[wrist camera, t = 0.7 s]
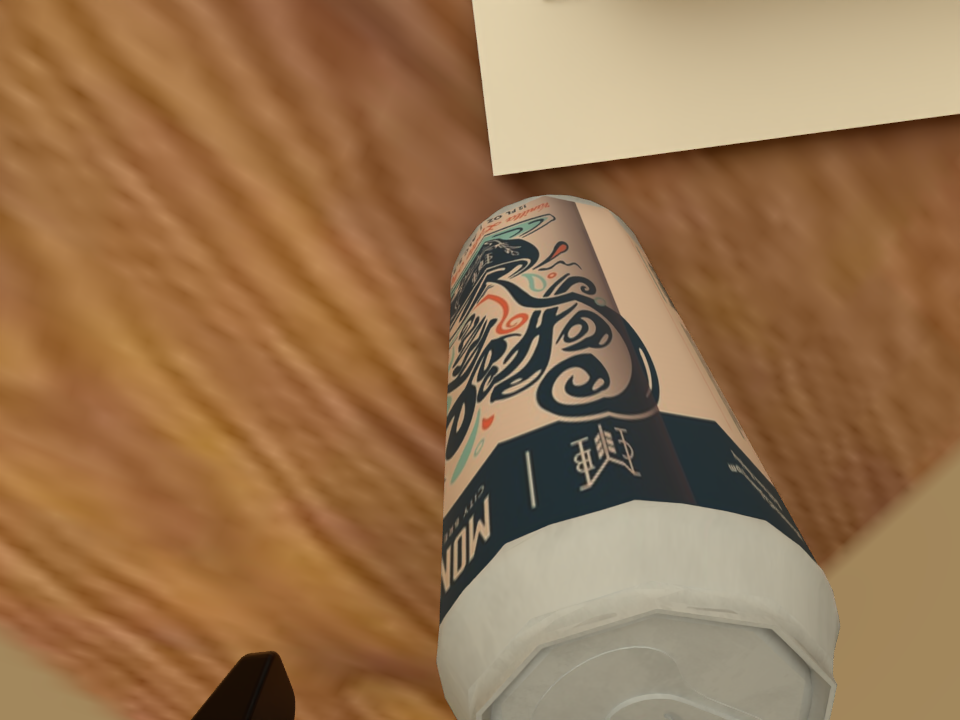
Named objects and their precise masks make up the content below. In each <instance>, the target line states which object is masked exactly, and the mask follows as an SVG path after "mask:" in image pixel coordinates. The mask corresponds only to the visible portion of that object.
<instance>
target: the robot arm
mask: <svg viewBox="0 0 960 720" xmlns="http://www.w3.org/2000/svg"><path fill="white" fill-rule="evenodd" d="M294 717H295V696H294V692H293V689H292V686H291V683H290V681H289V678H288V676H287V673H286V671H285V668H284V665H283V663H282V660H281V658H280V656H279V655H278V654H277V653H276V652H274V651H268V652H258V653H250V654H247V655H245V656H243V657H242V658H241V659H240V660H239V661H238V662H237V664H236V665H235V666H234V667H233V668H232V670H231V671H230V672H229V673H228V675H227V676H226V677H225V678H224V680H223V681H222V682H221V683H220V685H219V686H218V687H217V688H216V689H215V691H214V692H213V693H212V694H211V696H210V697H209V698H208V699H207V701H206V702H205V703H204V704H203V706H202V707H201V708H200V709H199V710H198V712H197V713H196V714H195V715H194V717H193V718H192V719H191V720H294Z"/></svg>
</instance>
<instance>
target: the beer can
mask: <svg viewBox="0 0 960 720" xmlns="http://www.w3.org/2000/svg"><path fill="white" fill-rule="evenodd" d="M450 295H451V310H450V339H449V367H448V396H447V425H446V453H445V482H444V510H443V539H442V568H441V596H440V625H439V638H438V650H437V662H436V663H437V667H438V671H439V675H440V679H441V683H442V687H443V691H444V695H445V698H446V700H447V702H448V704H449V706H450V707H451V709H452V711H453V713H454V715H455V716H456V718H457V720H830V716H831V711H832V706H833V701H834V697H835V692H836V687H837V684H836V682H835V680H834V678H833V658H834V650H835V645H836V642H837V638H838V634H839V629H840V622H839V616H838V611H837V607H836V603H835V598H834V594H833V590H832V588H831V586H830V584H829V582H828V580H827V578H826V576H825V574H824V572H823V570H822V569H821V568H820V567H819V566H818V564H817V563H816V561H815V559H814V557H813V555H812V554H811V552H810V550H809V548H808V546H807V545H806V543H805V541H804V539H803V537H802V536H801V534H800V532H799V530H798V528H797V527H796V525H795V523H794V521H793V519H792V517H791V516H790V514H789V512H788V510H787V508H786V507H785V505H784V503H783V501H782V499H781V498H780V496H779V494H778V492H777V490H776V489H775V487H774V485H773V483H772V481H771V480H770V478H769V476H768V474H767V472H766V471H765V469H764V467H763V465H762V463H761V462H760V460H759V458H758V456H757V454H756V453H755V451H754V449H753V447H752V445H751V444H750V442H749V440H748V438H747V436H746V435H745V433H744V431H743V429H742V427H741V426H740V424H739V422H738V420H737V418H736V417H735V415H734V413H733V411H732V409H731V408H730V406H729V404H728V402H727V400H726V399H725V397H724V395H723V393H722V391H721V390H720V388H719V386H718V384H717V382H716V381H715V379H714V377H713V375H712V373H711V372H710V370H709V368H708V366H707V364H706V363H705V361H704V359H703V357H702V355H701V354H700V352H699V350H698V348H697V346H696V345H695V343H694V341H693V339H692V337H691V336H690V334H689V332H688V330H687V328H686V327H685V325H684V323H683V321H682V319H681V318H680V316H679V314H678V312H677V310H676V309H675V307H674V305H673V303H672V301H671V300H670V298H669V296H668V294H667V292H666V291H665V289H664V287H663V285H662V283H661V282H660V280H659V278H658V276H657V274H656V273H655V271H654V269H653V267H652V265H651V264H650V262H649V260H648V258H647V256H646V255H645V253H644V251H643V249H642V247H641V245H640V243H639V242H638V240H637V238H636V236H635V234H634V233H633V232H632V231H631V229H630V228H629V227H628V226H627V225H626V224H625V223H624V222H623V221H622V219H621V218H620V217H618V216H617V215H615V214H614V213H613V212H611V211H610V210H608V209H607V208H605V207H603V206H601V205H599V204H597V203H594V202H592V201H590V200H586V199H582V198H578V197H574V196H569V195H543V196H536V197H530V198H527V199H524V200H521V201H519V202H516V203H514V204H511V205H508V206H506V207H503V208H502V209H500V210H498V211H497V212H495V213H494V214H493V215H491V216H490V217H489V218H488V219H486V220H485V221H484V222H482V223H481V224H480V225H479V226H478V227H477V228H476V229H475V231H474V232H473V233H472V234H471V236H470V237H469V238H468V240H467V241H466V242H465V243H464V245H463V248H462V250H461V252H460V254H459V256H458V258H457V260H456V262H455V265H454V268H453V271H452V276H451V291H450Z"/></svg>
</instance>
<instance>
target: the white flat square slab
mask: <svg viewBox="0 0 960 720" xmlns="http://www.w3.org/2000/svg"><path fill="white" fill-rule="evenodd" d="M472 3H473V12H474V20H475V28H476V36H477V44H478V52H479V61H480V69H481V77H482V85H483V93H484V102H485V110H486V118H487V126H488V134H489V142H490V151H491V159H492V167H493V175H494V176H497V175H504V174H512V173H519V172H527V171H534V170H542V169H549V168H557V167H564V166H572V165H579V164H587V163H594V162H602V161H609V160H617V159H624V158H631V157H639V156H646V155H654V154H661V153H669V152H676V151H684V150H691V149H699V148H706V147H714V146H721V145H729V144H736V143H744V142H751V141H759V140H766V139H774V138H781V137H789V136H796V135H804V134H811V133H819V132H826V131H833V130H841V129H848V128H856V127H863V126H871V125H878V124H886V123H893V122H901V121H908V120H916V119H923V118H931V117H938V116H946V115H953V114H960V0H472Z"/></svg>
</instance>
